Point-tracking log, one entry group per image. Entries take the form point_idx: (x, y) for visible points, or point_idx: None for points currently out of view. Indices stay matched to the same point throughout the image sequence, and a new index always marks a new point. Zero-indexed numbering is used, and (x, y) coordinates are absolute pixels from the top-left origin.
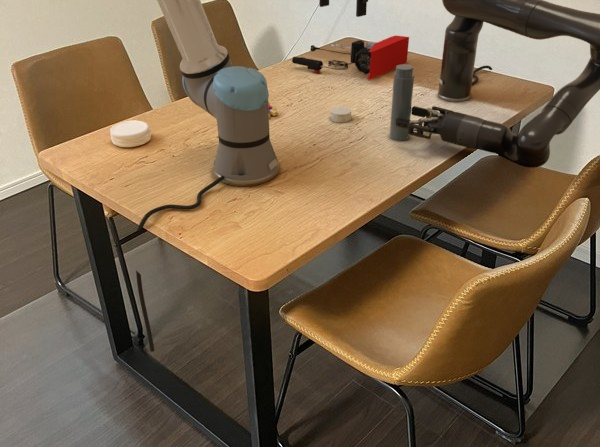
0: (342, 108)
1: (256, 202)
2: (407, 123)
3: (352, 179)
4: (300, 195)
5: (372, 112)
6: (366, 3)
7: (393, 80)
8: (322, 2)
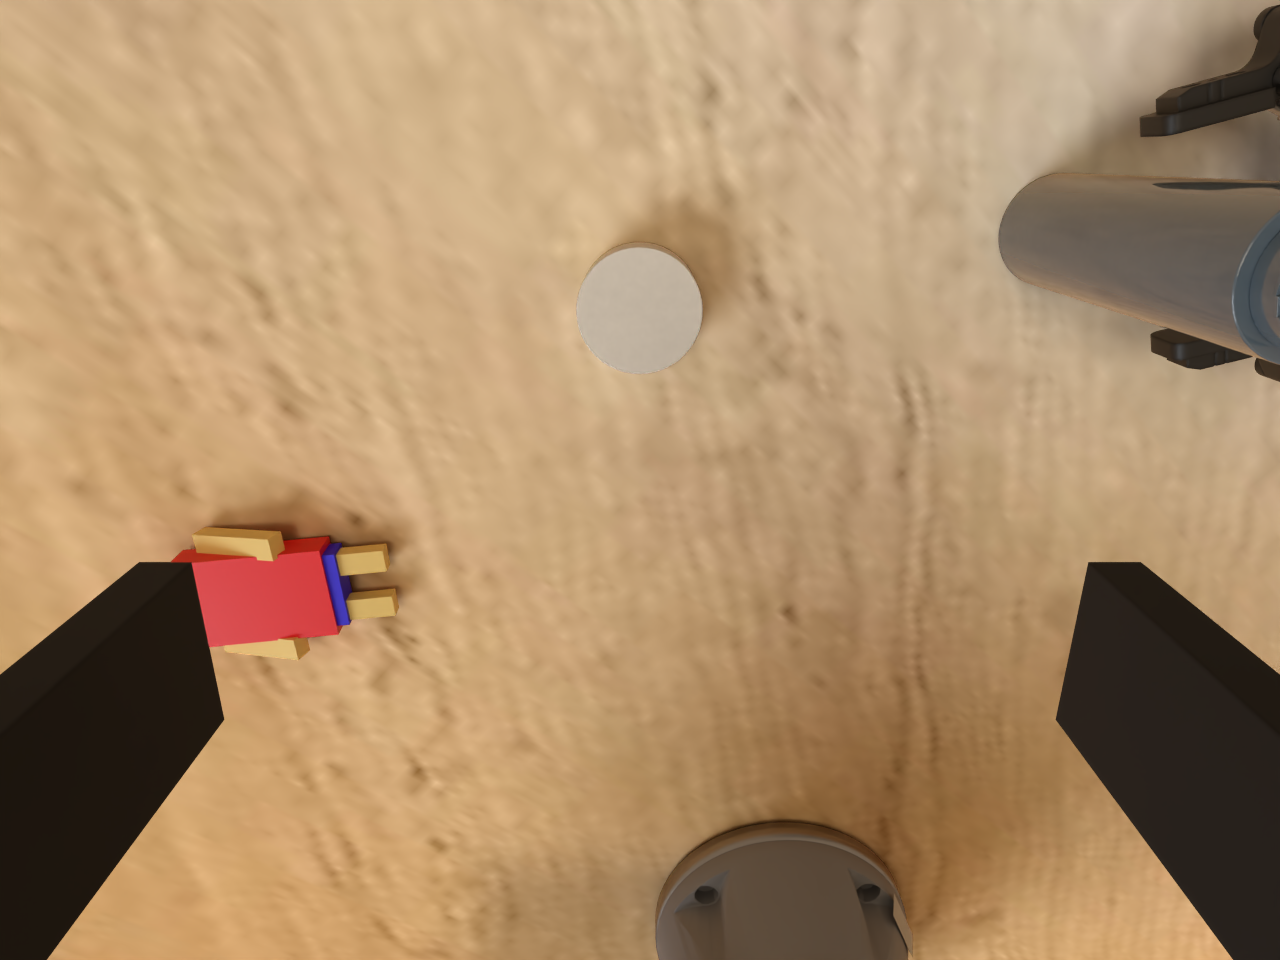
0: (620, 281)
1: None
2: None
3: None
4: (1055, 885)
5: (700, 72)
6: (1272, 674)
7: (1220, 337)
8: (187, 745)
